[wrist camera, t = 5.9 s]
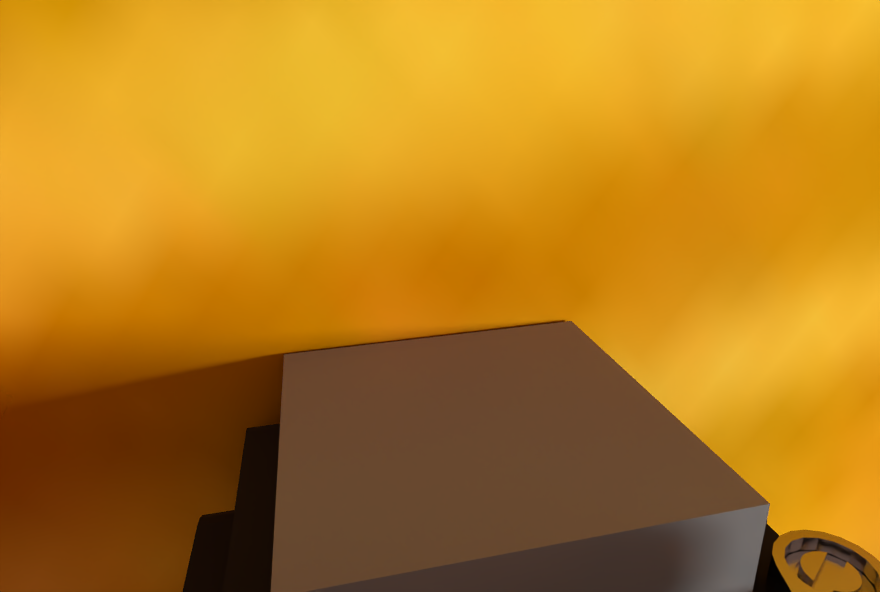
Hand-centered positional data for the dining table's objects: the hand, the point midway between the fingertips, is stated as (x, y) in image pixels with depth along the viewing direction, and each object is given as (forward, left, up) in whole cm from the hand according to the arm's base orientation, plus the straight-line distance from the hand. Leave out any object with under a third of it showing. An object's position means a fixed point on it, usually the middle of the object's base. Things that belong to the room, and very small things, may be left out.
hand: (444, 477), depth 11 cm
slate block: (0, 0, -1) cm, 1 cm away
